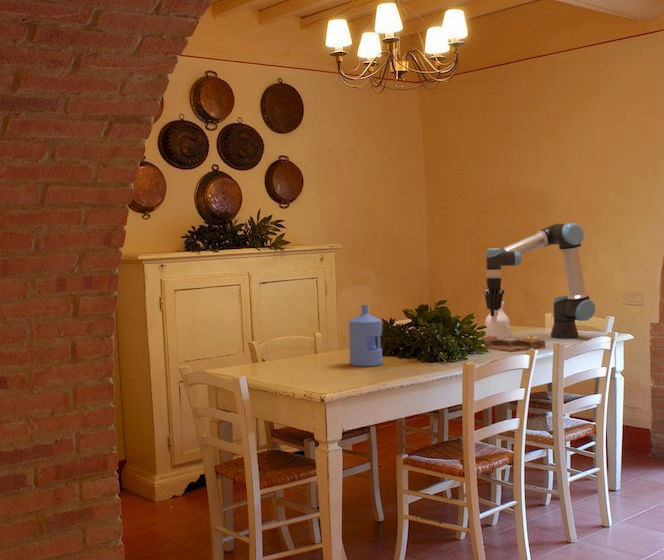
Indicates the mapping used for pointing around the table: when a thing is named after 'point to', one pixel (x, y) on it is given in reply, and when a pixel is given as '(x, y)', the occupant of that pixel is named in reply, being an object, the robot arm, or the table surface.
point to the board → (514, 345)
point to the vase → (500, 317)
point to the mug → (500, 330)
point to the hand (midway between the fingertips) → (494, 322)
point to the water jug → (365, 340)
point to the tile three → (531, 339)
